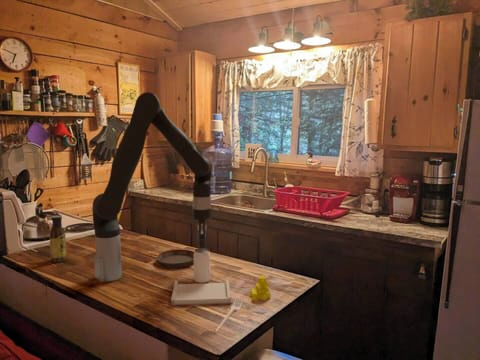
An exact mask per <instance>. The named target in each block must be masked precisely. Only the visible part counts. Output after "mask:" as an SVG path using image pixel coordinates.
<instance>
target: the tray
mask: <svg viewBox="0 0 480 360" xmlns="http://www.w3.org/2000/svg"><path fill="white" fill-rule="evenodd" d="M172 289H173V290H172V295H171V298H170V305H171V306H197V305H199V306H200V305H202V306H203V305H227V304H228V305H229V304H232V297H231V290H230V289H231V287H230V281H229V279H225V282H217V283H214V282H212V283H208V282H206V283H179V281H178V280H174V284H173V288H172Z"/></svg>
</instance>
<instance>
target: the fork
mask: <svg viewBox="0 0 480 360" xmlns="http://www.w3.org/2000/svg"><path fill="white" fill-rule="evenodd" d="M243 301H244V298H242V299H241V297H240V298H239V297H236V298H235V300H234V301H233V303H232V305H231V307H230V308H229V309H230V311H229V312H228V313H227V314H226V315H225V317H224V318H223V320H222V321H221V322H220V324H219V325H218V327H217V328H216V329H215V332H219V330H220V329H221V328H222V327H223V326H224V324H225V323H226V322H227V321H228V320H229V318H230V317H231V316H232V314H234V312H235V311H236V312H237V311H239V310H241V308H242V307H243V303H244V302H243Z"/></svg>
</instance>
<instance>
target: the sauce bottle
mask: <svg viewBox="0 0 480 360" xmlns="http://www.w3.org/2000/svg"><path fill="white" fill-rule="evenodd" d="M62 219H63V216H62V215H52V216H51V222H52V225H51V226H52V228H51V229H50V230H49V251H50V253H49V254H50V260H51V262H52V263H60V262H63V261H66V259H67V246H66V244H67V242H66V231H65V229H64V227H63V224H62Z"/></svg>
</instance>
